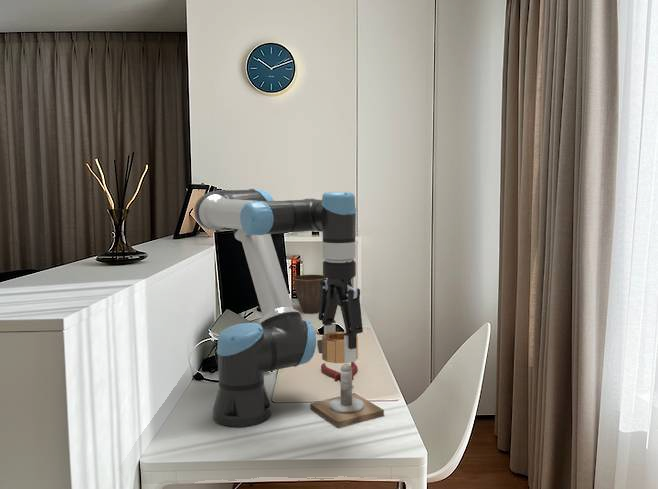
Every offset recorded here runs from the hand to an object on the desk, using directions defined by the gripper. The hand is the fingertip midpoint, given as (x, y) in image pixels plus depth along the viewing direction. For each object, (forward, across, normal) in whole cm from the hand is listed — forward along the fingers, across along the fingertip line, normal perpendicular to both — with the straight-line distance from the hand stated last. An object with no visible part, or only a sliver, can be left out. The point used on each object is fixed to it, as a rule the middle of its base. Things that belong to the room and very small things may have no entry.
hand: (339, 356), depth 136 cm
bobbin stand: (+20, +13, -10) cm, 26 cm away
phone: (+21, +66, -35) cm, 78 cm away
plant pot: (+21, +117, -56) cm, 131 cm away
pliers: (+21, +37, -22) cm, 48 cm away
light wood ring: (0, 0, 0) cm, 0 cm away
